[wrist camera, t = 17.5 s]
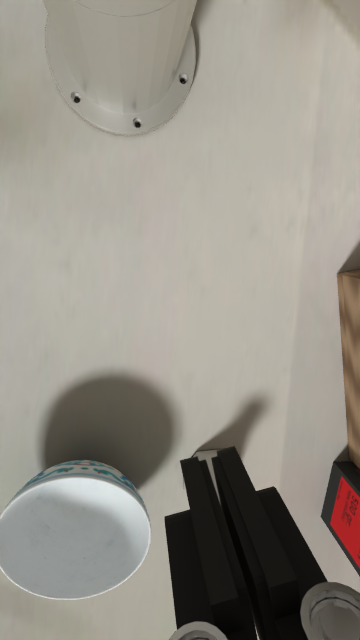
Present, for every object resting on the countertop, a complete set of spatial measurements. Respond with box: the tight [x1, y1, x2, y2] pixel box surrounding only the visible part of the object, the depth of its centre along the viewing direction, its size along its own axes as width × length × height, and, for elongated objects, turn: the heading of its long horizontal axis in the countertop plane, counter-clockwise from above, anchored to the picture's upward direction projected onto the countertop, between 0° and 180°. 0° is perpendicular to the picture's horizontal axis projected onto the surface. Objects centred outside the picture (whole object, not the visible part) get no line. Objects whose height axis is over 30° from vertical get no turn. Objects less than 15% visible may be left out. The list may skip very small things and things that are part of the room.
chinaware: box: [0, 460, 151, 600], centre depth 37 cm, size 15×15×8 cm
